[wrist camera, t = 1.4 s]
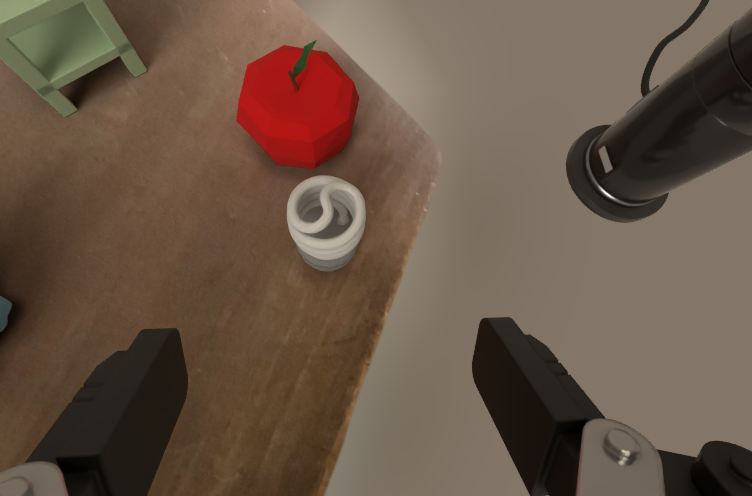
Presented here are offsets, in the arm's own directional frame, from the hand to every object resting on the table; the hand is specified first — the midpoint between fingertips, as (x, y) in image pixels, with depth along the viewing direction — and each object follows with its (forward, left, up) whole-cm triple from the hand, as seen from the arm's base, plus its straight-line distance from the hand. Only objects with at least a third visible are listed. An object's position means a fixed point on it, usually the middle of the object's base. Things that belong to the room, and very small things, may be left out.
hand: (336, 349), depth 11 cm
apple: (-12, -19, -25) cm, 33 cm away
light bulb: (-6, -8, -25) cm, 27 cm away
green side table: (0, -39, -25) cm, 46 cm away
